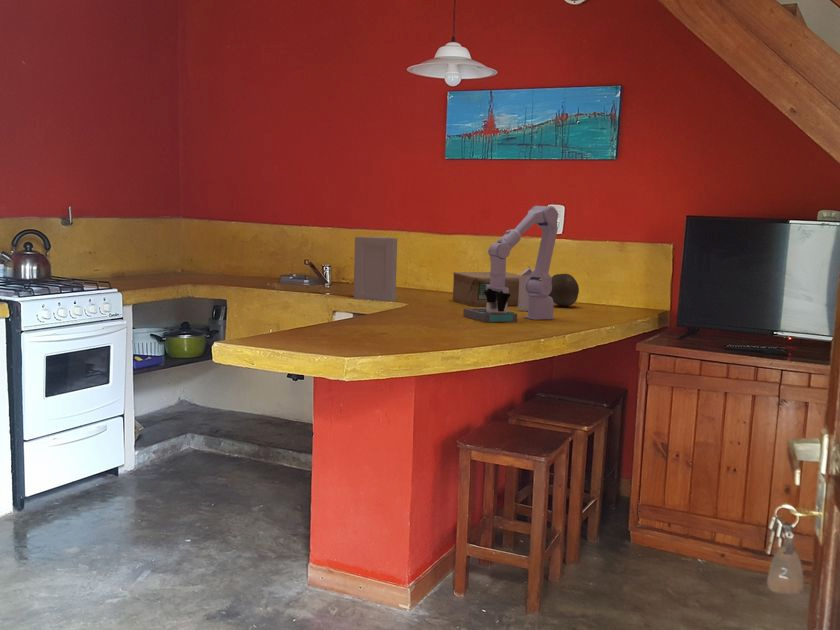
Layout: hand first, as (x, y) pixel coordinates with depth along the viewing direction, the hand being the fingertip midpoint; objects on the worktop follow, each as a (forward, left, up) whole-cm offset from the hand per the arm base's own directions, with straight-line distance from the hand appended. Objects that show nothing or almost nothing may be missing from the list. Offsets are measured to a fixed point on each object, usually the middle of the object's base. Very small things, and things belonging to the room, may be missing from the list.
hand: (496, 310), depth 310 cm
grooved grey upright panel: (+19, -79, -4) cm, 81 cm away
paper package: (-26, -54, -4) cm, 60 cm away
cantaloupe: (-54, -38, -4) cm, 66 cm away
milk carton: (-30, -28, -4) cm, 41 cm away
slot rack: (0, -5, -4) cm, 6 cm away
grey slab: (0, 0, -4) cm, 4 cm away
